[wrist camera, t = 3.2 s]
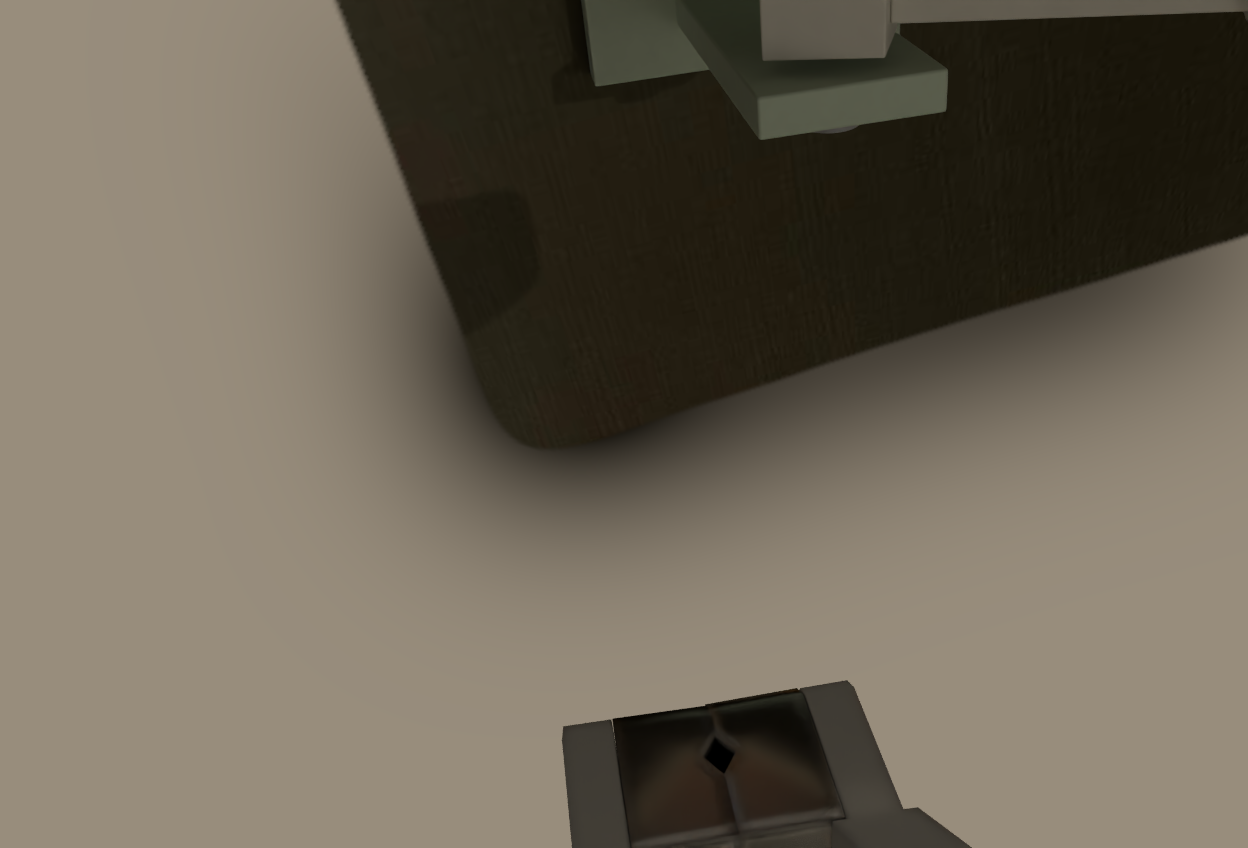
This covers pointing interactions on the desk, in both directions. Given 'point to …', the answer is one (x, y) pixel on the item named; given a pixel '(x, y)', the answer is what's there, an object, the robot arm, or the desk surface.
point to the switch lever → (924, 20)
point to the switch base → (758, 66)
